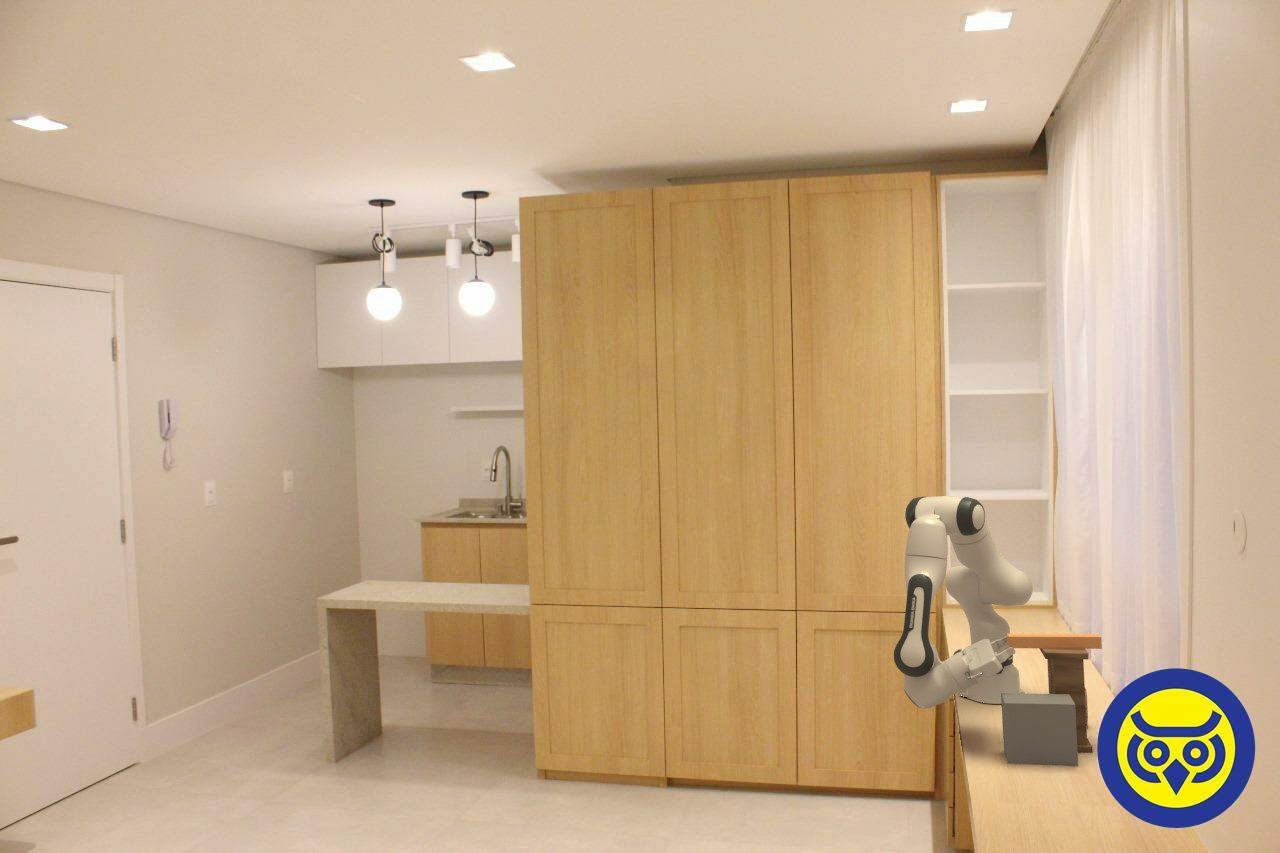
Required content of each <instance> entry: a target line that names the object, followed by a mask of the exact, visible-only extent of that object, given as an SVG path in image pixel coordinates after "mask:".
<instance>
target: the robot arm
mask: <svg viewBox="0 0 1280 853" xmlns="http://www.w3.org/2000/svg"><path fill="white" fill-rule="evenodd" d="M904 516H905V521H906V525H907V526H908V528H909V531H908V534H907V539H906V546H905V553H904V554H905V555H904V576H905V577H904V578H905V580H904V581H905V589H906V602H905V611H904V612H905V613H904V623H903V631H902V633H901V636H900V638H899V640H898V641H897V643H896V644H895V648H894V650H893V662H894V663H895V666H896V667H897V669H898V670H899V671H900V672H901V673H902V674H903V677H904V679H903V680H904V682H903V683H904V684H903V690H904V693H905V695H906V696H907V697H908V699H909V700H910V702H912V703H913V704H914V705H915V706H916V707H918V708H919V709H922V710H923V709H924V710H926V709H927V710H928V709H930V708H933V707H936V706H938V705H940V704H943V703H944V702H946V701H948V700H949V699H951V698H952V697H953V696H954V695H956V694H959V696H960V695H962V696H964V697H967V698H966V699H970V700H973V702H974V701H975V702H979V703H982V702H983V703H984V704H989V705H990V704H991V705H993V704H995V705H1002V702H1001V693H1026V692H1025V691H1024V690H1023V689H1022V688H1021V682H1020V670H1019V669H1018V668H1017V667H1016V666H1015V665H1014V655H1015V654H1016V650H1015V648H1013V647H1012V646H1009V647H1008V642H1007V634H1011V627H1010V625H1009V623H1008V621H1007V620H1006V619H1005V618H1004V617H1002V616H1001V615H999V613H997V612H996V610H995V609H994V607H993V606H1003V607H1017V606H1024V605H1026V604H1027V603H1028V601H1029V600H1030V599H1031V597H1032V594H1033V582H1032V580H1031V578H1030V577H1029V575H1028V574H1027V573H1026V572H1024V571H1022V570H1021V569H1018V568H1017V567H1015V565H1013V564H1012V563H1010V562H1009V561H1008V560H1007V559H1006V558H1005V557H1004V556H1003V554H1001V552H1000V551H999V549H998V548H997V546H996V544H995V542H994V540H993V536H992V535H991V532H990V529H989V526H988V524H987V521H986V511H985V508H984V506H983V505H982V503H981V502H980V501H979V500H978V499H975V498H973V497H970V496H965V497H961V496H954V495H953V496H952V495H942V496H938V495H937V496H917V497H914V498H912V499H911V500H910V501H909V503H907V505H906V508H905V514H904ZM948 536H949V539H950V542H951V545H952V547H953V550H954V553H955V556H956V558H957V560H958V561H959V563H961V564H962V565H954V566H952V567H950V569H948V571H947V567H948V553H949V552H948V549H949V548H948ZM946 573H947V574H946ZM944 581H945V583H944ZM944 584H945V588H946V590H947V593H948V594H949V596H951V597H952V598H953V599H954V600H956V602H957V603H958V604H959V605H960V607H961V609H962V610H963V612H964V614H965V616H966V619H967V622H968V625H969V633H970V645H968V646H966V647H965V648H964V649H963V648H958V649H957V650H955V651H954V652H953V654H952V655H951V656H950V657H949V658H947V659H945V660H943V661H942V660H941V658H940V655H939V652H938V650H937V647H936V645H935V644H934V643H933V642H932V641H931V640H930V639H929V638H930V637H929V632H930V621H931V612H932V611H931V610H932V605H933V601H934V599H935V596H936V595H937V593H938V591H939V590H940V588H942V586H943V585H944ZM964 697H963V698H964Z"/></svg>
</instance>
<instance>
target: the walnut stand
mask: <svg viewBox="0 0 1280 853" xmlns="http://www.w3.org/2000/svg"><path fill="white" fill-rule="evenodd" d="M1038 649H1039V650H1040V652H1041V654H1042V656H1043V657H1044V659H1045V660H1047V676H1048V677H1047V680H1048V694H1069V695H1070V696H1071V698H1072V700H1073V702H1074V703H1075V709H1076V731H1077V753H1080V754H1081V752H1082V753H1083V754H1085V753H1086V754H1089V753H1088V752H1090V754H1092V753H1091V752H1094V750H1093V745H1092V744H1091V742H1090V740H1089V738H1088V734H1087V733H1088V732H1087V727H1088V726H1086V705H1085V688H1086V687H1085V686H1086V685H1085V667H1084V666H1085V665H1084V660H1089V652H1088V651H1087V650H1086V649H1054V648H1038Z"/></svg>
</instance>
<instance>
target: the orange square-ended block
mask: <svg viewBox="0 0 1280 853" xmlns="http://www.w3.org/2000/svg"><path fill="white" fill-rule="evenodd" d="M1007 642H1008V647H1009V646H1012V647H1013V648H1014V649H1039V648H1054V649H1085V650H1086V649H1087V650H1089V649H1090V650H1091V649H1092V650H1094V649H1095V650H1102V649H1103V647H1102V635H1100V634H1099V633H1010V634H1007Z"/></svg>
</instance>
